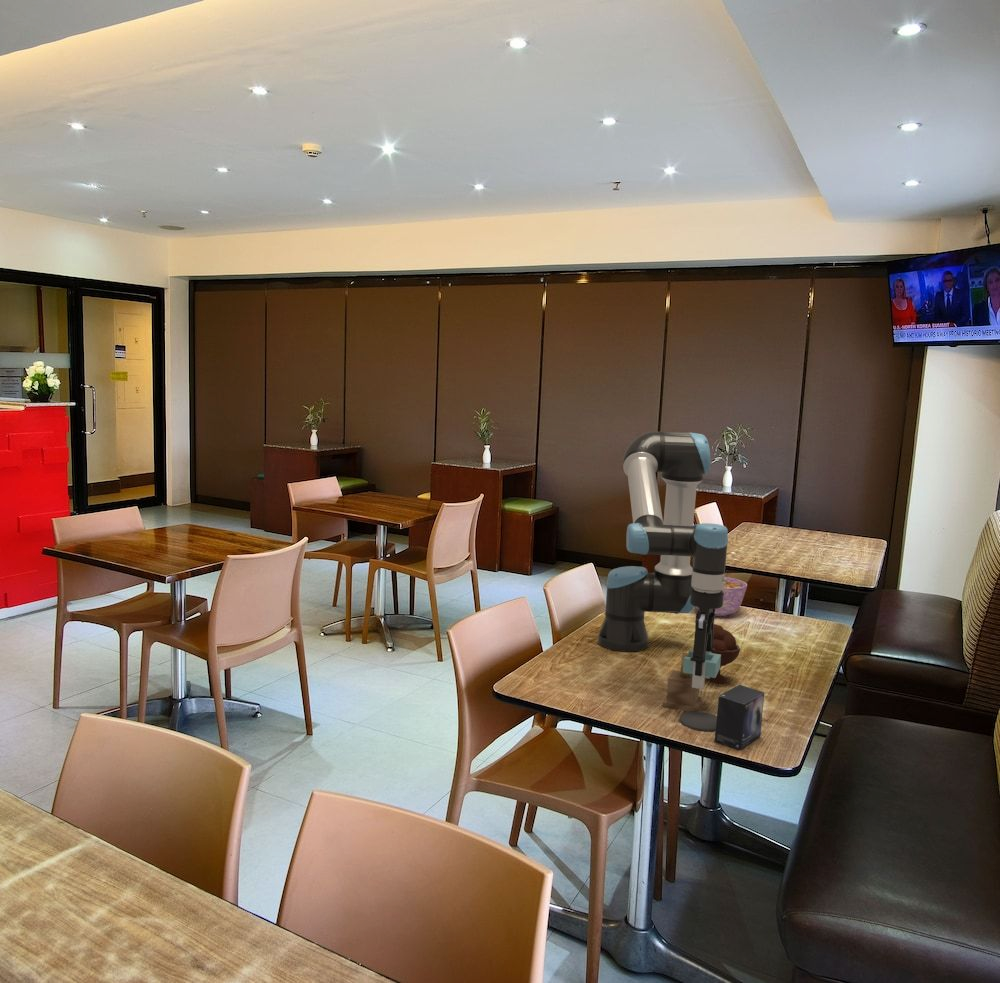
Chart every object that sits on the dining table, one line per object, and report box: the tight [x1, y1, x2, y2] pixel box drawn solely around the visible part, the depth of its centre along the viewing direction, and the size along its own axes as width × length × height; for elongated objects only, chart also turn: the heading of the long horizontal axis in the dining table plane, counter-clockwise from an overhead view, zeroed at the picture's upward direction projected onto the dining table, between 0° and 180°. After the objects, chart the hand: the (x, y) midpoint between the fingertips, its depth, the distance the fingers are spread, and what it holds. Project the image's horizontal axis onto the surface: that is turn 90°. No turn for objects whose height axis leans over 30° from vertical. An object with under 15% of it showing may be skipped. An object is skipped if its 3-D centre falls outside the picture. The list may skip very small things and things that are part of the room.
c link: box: [683, 649, 721, 678], centre depth 189 cm, size 8×8×4 cm
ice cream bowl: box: [705, 623, 741, 685], centre depth 209 cm, size 11×11×15 cm
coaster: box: [678, 711, 717, 732], centre depth 181 cm, size 10×10×1 cm
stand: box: [662, 652, 703, 712], centre depth 191 cm, size 8×8×12 cm
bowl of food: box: [695, 576, 748, 617], centre depth 277 cm, size 20×20×12 cm
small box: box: [713, 684, 765, 750], centre depth 172 cm, size 11×6×10 cm, turn 138°
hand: (700, 682), depth 189 cm, fingers closed on c link, 7 cm apart
